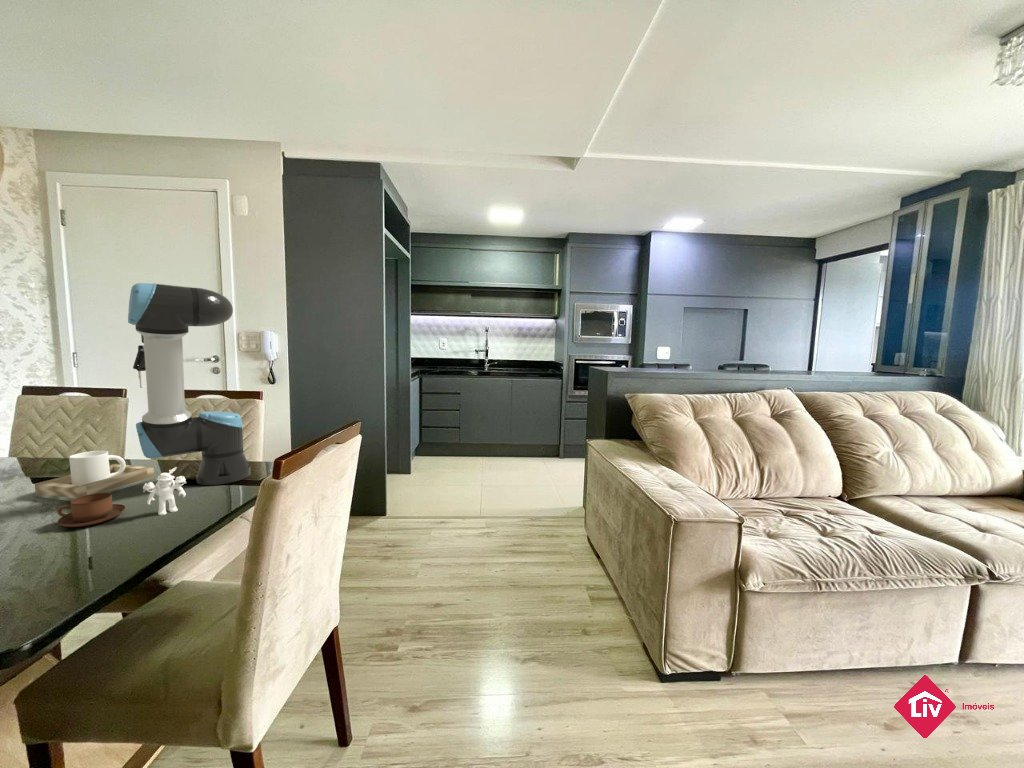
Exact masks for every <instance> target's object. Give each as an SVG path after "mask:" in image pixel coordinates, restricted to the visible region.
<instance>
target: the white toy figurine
mask: <svg viewBox="0 0 1024 768" xmlns="http://www.w3.org/2000/svg"><path fill="white" fill-rule="evenodd" d="M177 468H178V466H177V467H176V466H175V467H174V468H172V469H168V471H169V472H162V473H160V475H158V477H156V478H155V479H156V481H157V482H156V483H154V482H153V481H148V482H145V483H144V485H143V486H142V490H143V491H142V492H143V493H145V492H148V493H149V494H148V498H147V500H146V504H147V505H149V506H150V505H151V502H152V501H155V498H154V497H155V495H156V496H158V511H157V514H158V516H165V515H166V514H168V513H167V512H170V513H175V512H178V510H179V508H178V507H177V505H176V504H177V503H176V499H175V496H174V490H175V489H176V490H177V491H178V492H179V493H178V497H180V496H181V495H182V498H185V497H186V496H187V493H186V491H185V490H184V488H183V487H182V486H183V485H184V484H187V481H186V480H187V479H186V478H185V476H183V475H178V476H175V475H172V474H173V473H174V472H175V471H176V470H177ZM174 479H175V480H174ZM167 502H168V511H167V510H166V505H167Z"/></svg>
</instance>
